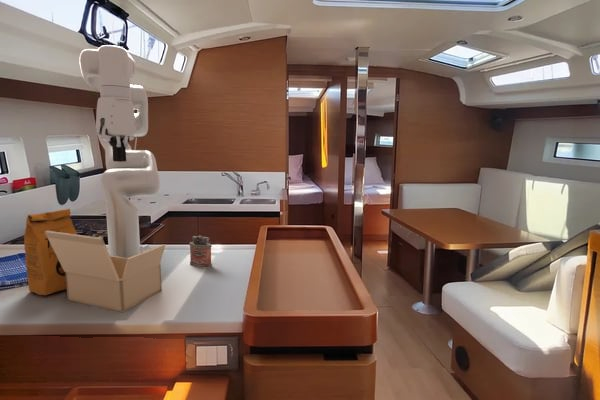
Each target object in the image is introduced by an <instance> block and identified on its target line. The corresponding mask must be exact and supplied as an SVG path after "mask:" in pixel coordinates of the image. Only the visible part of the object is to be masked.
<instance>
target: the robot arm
mask: <svg viewBox="0 0 600 400" xmlns="http://www.w3.org/2000/svg"><path fill="white" fill-rule="evenodd" d="M79 66H80V68H79V69H80V72H81V75H82V78H83V80H84V82H85V84H87V85H88V86H89V87H91V88H93V89H95V90H96V91H99V93H100V97H98V100H97V102H96V103H97V104H96V116H95V117H96V119H95V129H96V134H97V137H98V141H99V143H100V144H101V145H102V147H103V149H104V152H105V153H104V154H105V168H106V170H105V171H104V172H103V173H102V174H101V176H100V183H101V184H100V186H101V189H102V194H103V197H104V203H105V213H106V214H105V215H106V225H107V226H106V228H107V241H108V242H107V244H108V253H109V255H110V256H117V257H124V258H129V257H132V256H135V255H137V254H140V253H142V252H145V251H148V250H150V245H149V244H144V245H140V244H141V242H140V241H141V240H140V224H139V221H140V219H139V211H138V207H137V206H136V205H135V204H134V203H133V202H132V201H131V200H130V199H129V198H140V197H154V196H155V195H158V193H159V192H160V187H161V184H160V175H159V171H158V166H157V160H156V157H155V155H154V154H153V152H151V151H150V150H147V149H145V150H144V149H132V146H131V145H130V143H129V142H131V141H133V140H135V138H136V137H145V136H146V135H147V133H148V130H149V103H148V102H149V101H148V100H149V99H148V93H147V91H146V89H145V88H144V86H141V85H137V84H134V85H133V84H131V79H132V78H133V77H134V75H135V74H136V71H137V70H136V60H135V59H133V57H132V56H131V54H129V52H128V50H127V49H125V48H124V47H121V46H118V45H111V44H109V45H108V44H107V45H100V47H98V48H97V49H95V48H87V49H86V48H85V49H83V50H82V51H81V53H80V54H79ZM135 110H137V111H136V113H135Z"/></svg>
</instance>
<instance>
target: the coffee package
mask: <svg viewBox="0 0 600 400" xmlns="http://www.w3.org/2000/svg"><path fill="white" fill-rule="evenodd" d="M70 216H71V209H70V208H66V209H61V210H60V209H59V210H55V211H54V210H53V211H47V212H40V213H33V214H32V213H31V214H28V215H27V216H26V220H25V226H26V227H25V231H24V235H23V236H24V238H23V239H24V240H23V242H24V245H23V246H24V253H25V264H26V265H25V266H26V267H25V268H26V276H27V281H28V282H27V284H28V292H30V293H35V294H36V295H39V296H48V295H51V294H55V293H58V292H61V291H65V290H66V291H67V286H66V275H65V272H64V270H63V268H62V266H61V264H60V262H59V260H58V258H57V256H56V254H55V252H54V250H53V248H52V246H51V244H50V242H49V240H48V237H47V236H46V234H45V231H54V232H62V233H69V234H76V235H78V233H77V230H76V228H75V227H74V224H73V221H72V218H70Z"/></svg>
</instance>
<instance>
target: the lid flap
mask: <svg viewBox="0 0 600 400" xmlns="http://www.w3.org/2000/svg"><path fill="white" fill-rule="evenodd" d="M45 234H46V236H47V237H48V240H49V242H50V244H51V246H52V248H53V250H54V252H55V254H56V256H57V258H58V260H59V262H60V264H61V266H62V268H63V270H64V272H70V273H75V274H81V275H86V276H92V277H97V278H103V279H109V280H114V281H119V280H120V279H119V277H118V274H117V272H116V270H115V267H114V265H113V262H112V260H111V257H110V255H109V249H108V248H107V245H106V244H105V241H104V239H103V237H102V238H99V237H100V236H89V235H81V234H77V235H76V234H69V233H62V232H54V231H45Z"/></svg>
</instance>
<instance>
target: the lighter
mask: <svg viewBox="0 0 600 400" xmlns="http://www.w3.org/2000/svg"><path fill="white" fill-rule="evenodd" d="M188 246H189V254H190V256H189V257H190V259H189V260H190V261H189V266H192V265H193V267H196V266H198V267H197V268H202V267H210V268H212V267H213V264H212V247H213V246H212V244H211V243H210V237H207V236H202V235H198V236H195V235H193V236H192V241H190V242H189V245H188ZM211 266H212V267H211Z"/></svg>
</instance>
